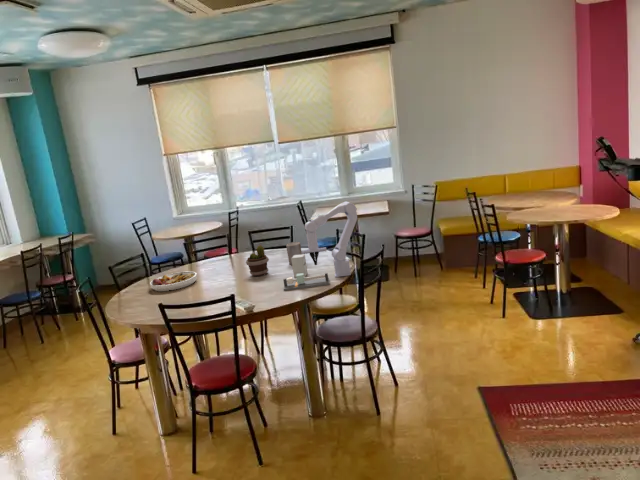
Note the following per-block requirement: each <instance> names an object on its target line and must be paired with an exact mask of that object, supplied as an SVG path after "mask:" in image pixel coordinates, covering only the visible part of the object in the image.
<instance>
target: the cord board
mask: <svg viewBox="0 0 640 480" xmlns="http://www.w3.org/2000/svg"><path fill="white" fill-rule="evenodd" d="M304 280H305V282H304V283H299V284H297V278H294V276H293V277H292V276H291V277H287V278H283V292H284V291H285V292H286V291H292V290H300V289H308V288H315V287H323V286H330V278H329V274H328V272H325V273H324V274H320V275H313V276H305V277H304Z"/></svg>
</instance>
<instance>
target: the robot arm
mask: <svg viewBox="0 0 640 480" xmlns="http://www.w3.org/2000/svg"><path fill="white" fill-rule="evenodd" d="M357 209H358V208H357V206H356V205H355V204H354V203H353V202H349V201H343V202H341V203H339V204H338V205H336V206H334V207H333V208H332V209H330V210H329V211H328V212H326V213H325V214H322V213H321V214H317V216H316V217H315V218H312V219H310V221H307V222H306V223H305V224H304V227H303V228H304V230H305V232H306V241H307V247H308V249H305V250H301V252H302V254H305V255H307V254H309V256H310V258H311V259H312V261H313V263H314V266H317V265H318V258H319V254H320V252H327V247H319V243H318V235H317V229H318V228H320V227H321V226H324V225H325V224H326V223H327V222H328V220H329V219H330V218H333V217H335V216H336V215H338V214H342V213H343V214H345V215H346V219H347V220H346V223H345V225H344V227H343V230H342V233H341V235H340V237H339V240H338V243H337V244H335V247H334V249H332V250H331V257H333V267H334V278H338V277H346V276H347V277H348V276H351V275H352V274H351V271H352V269H351V266H350V265H351V264H350V259H349V258H348V259H346V258H347V251H348V249H347V246H348V243H349V241H350V238H351V236H352V234H353V231H354V228H355V226H356V223H357V220H358V212H357Z"/></svg>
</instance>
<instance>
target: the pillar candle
mask: <svg viewBox="0 0 640 480" xmlns="http://www.w3.org/2000/svg"><path fill="white" fill-rule="evenodd" d="M285 246H286V252H287V258H288V264H289V265H290V266H292V261H291V258H292V257H293V256H294V255H302V252H301V251H302V246H301V242H300V241H292V242H289V243H287V244H286V245H285Z"/></svg>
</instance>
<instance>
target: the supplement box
mask: <svg viewBox="0 0 640 480" xmlns="http://www.w3.org/2000/svg"><path fill="white" fill-rule="evenodd" d="M291 261H292V265H291V266H292V273H293V274H292V275H293V279H297V278H296V275H297V274H300V273H304V277H307V274H308V265H307V260H306V254H302V255H294V256H293V257H292V258H291Z"/></svg>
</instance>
